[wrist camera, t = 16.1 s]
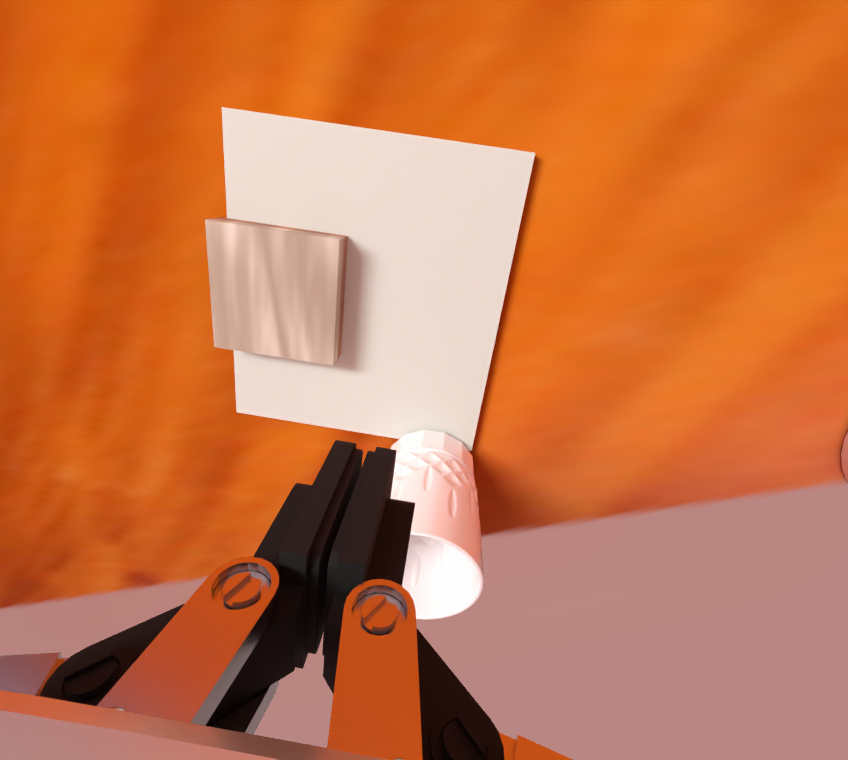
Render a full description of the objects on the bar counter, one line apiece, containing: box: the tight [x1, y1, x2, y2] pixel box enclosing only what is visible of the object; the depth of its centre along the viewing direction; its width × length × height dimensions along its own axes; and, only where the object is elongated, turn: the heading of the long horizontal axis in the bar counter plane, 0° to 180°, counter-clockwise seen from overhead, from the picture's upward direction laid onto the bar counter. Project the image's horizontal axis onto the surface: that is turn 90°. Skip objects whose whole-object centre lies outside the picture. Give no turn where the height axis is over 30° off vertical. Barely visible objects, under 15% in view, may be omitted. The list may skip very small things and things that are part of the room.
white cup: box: [390, 430, 483, 619], centre depth 30 cm, size 8×8×10 cm
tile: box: [205, 217, 348, 365], centre depth 28 cm, size 2×8×8 cm
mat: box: [222, 107, 535, 451], centre depth 29 cm, size 18×20×1 cm
